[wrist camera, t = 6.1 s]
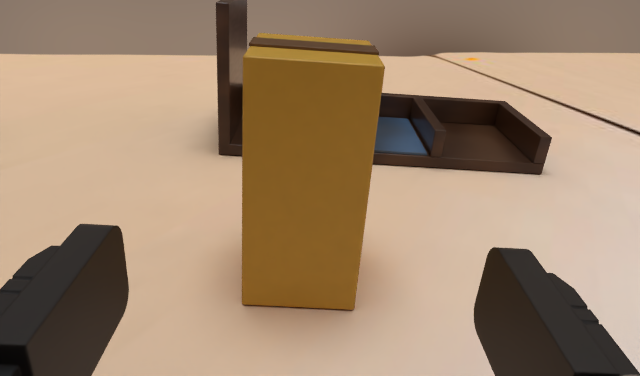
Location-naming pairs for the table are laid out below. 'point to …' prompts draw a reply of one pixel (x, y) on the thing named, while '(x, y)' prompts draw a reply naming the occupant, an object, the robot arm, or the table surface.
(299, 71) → the parcel
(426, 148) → the tray
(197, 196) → the table surface
